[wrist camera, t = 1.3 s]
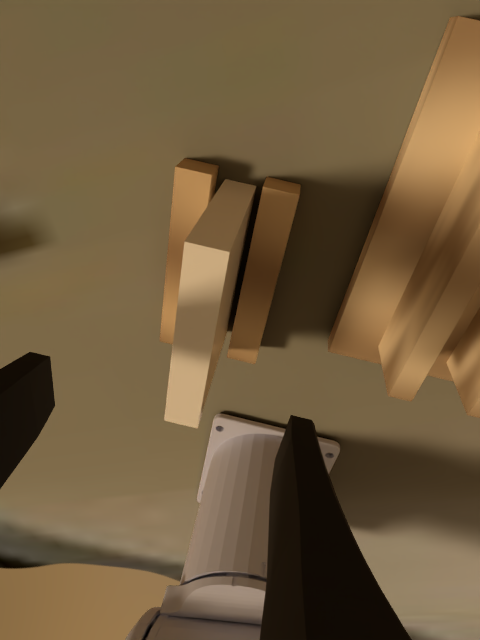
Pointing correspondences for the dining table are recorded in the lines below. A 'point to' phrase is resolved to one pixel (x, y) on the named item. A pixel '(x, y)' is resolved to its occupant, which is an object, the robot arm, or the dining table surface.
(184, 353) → the upright beige panel
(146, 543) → the dining table surface
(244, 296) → the stand
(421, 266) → the rack
